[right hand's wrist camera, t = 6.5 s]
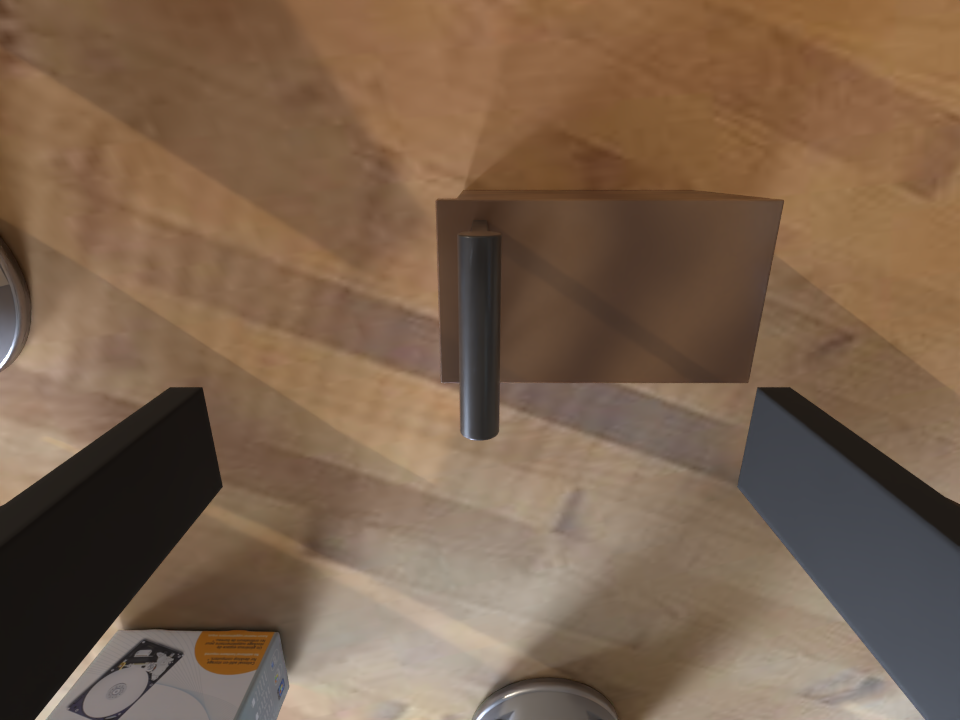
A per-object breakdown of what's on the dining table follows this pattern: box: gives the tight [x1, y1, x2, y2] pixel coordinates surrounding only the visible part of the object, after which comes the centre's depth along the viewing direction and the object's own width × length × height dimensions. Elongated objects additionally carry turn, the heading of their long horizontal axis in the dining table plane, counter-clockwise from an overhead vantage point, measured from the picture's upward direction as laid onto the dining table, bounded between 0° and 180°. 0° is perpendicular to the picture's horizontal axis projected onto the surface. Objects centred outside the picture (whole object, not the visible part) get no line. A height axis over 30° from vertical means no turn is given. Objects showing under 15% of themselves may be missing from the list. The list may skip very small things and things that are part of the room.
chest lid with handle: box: [436, 199, 784, 440], centre depth 23 cm, size 16×9×9 cm, turn 90°
